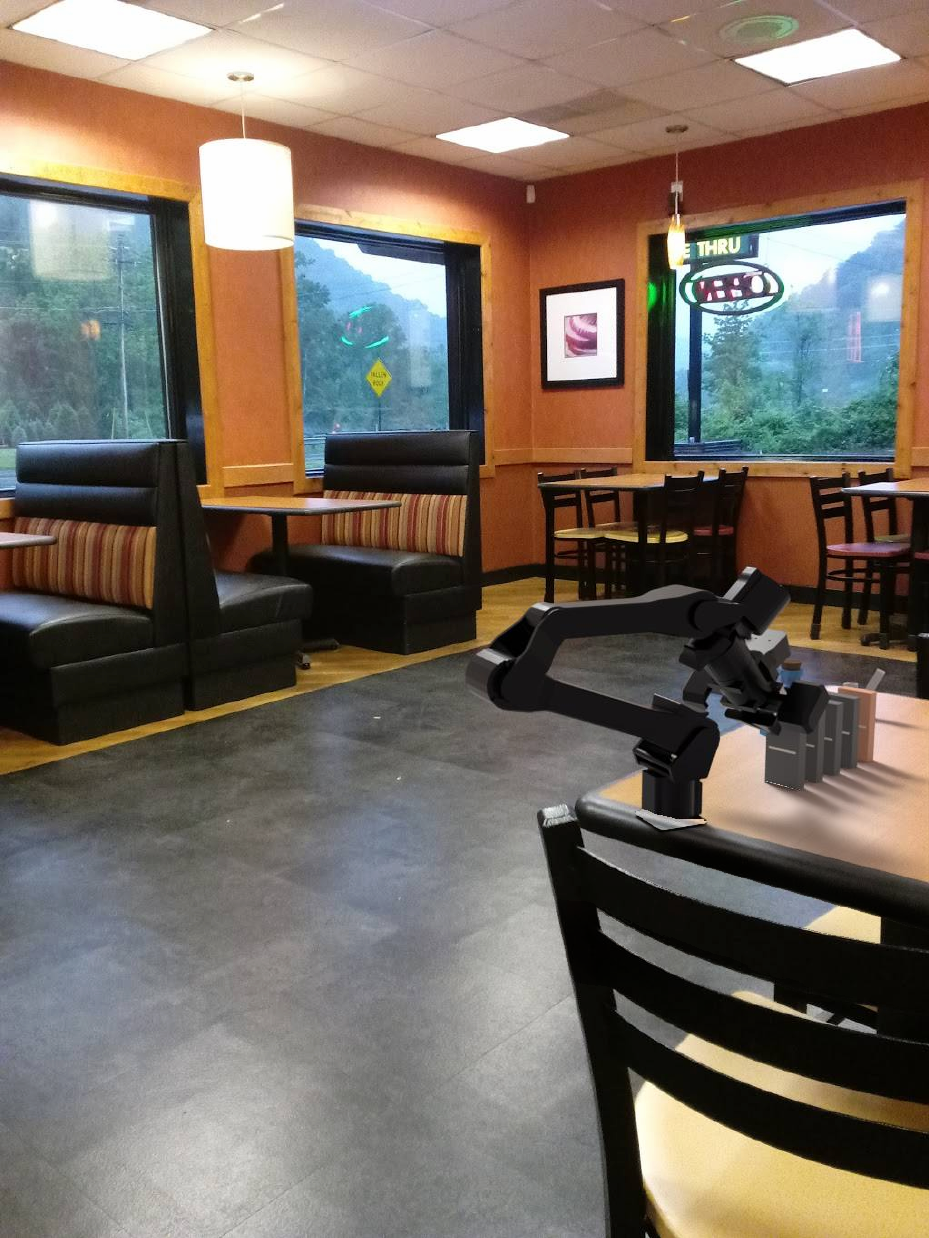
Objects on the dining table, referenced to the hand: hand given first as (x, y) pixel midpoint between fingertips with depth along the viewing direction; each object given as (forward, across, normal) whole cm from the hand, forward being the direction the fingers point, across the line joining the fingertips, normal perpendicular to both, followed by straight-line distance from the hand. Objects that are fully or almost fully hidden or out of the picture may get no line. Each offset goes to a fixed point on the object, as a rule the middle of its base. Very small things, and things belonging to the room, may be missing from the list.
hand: (777, 732), depth 139 cm
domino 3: (+13, 0, -2) cm, 14 cm away
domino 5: (+20, 0, -9) cm, 22 cm away
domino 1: (+7, 0, +4) cm, 8 cm away
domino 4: (+17, 0, -6) cm, 18 cm away
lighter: (+36, +12, -24) cm, 45 cm away
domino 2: (+10, 0, +1) cm, 10 cm away
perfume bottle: (+22, +12, -10) cm, 27 cm away
